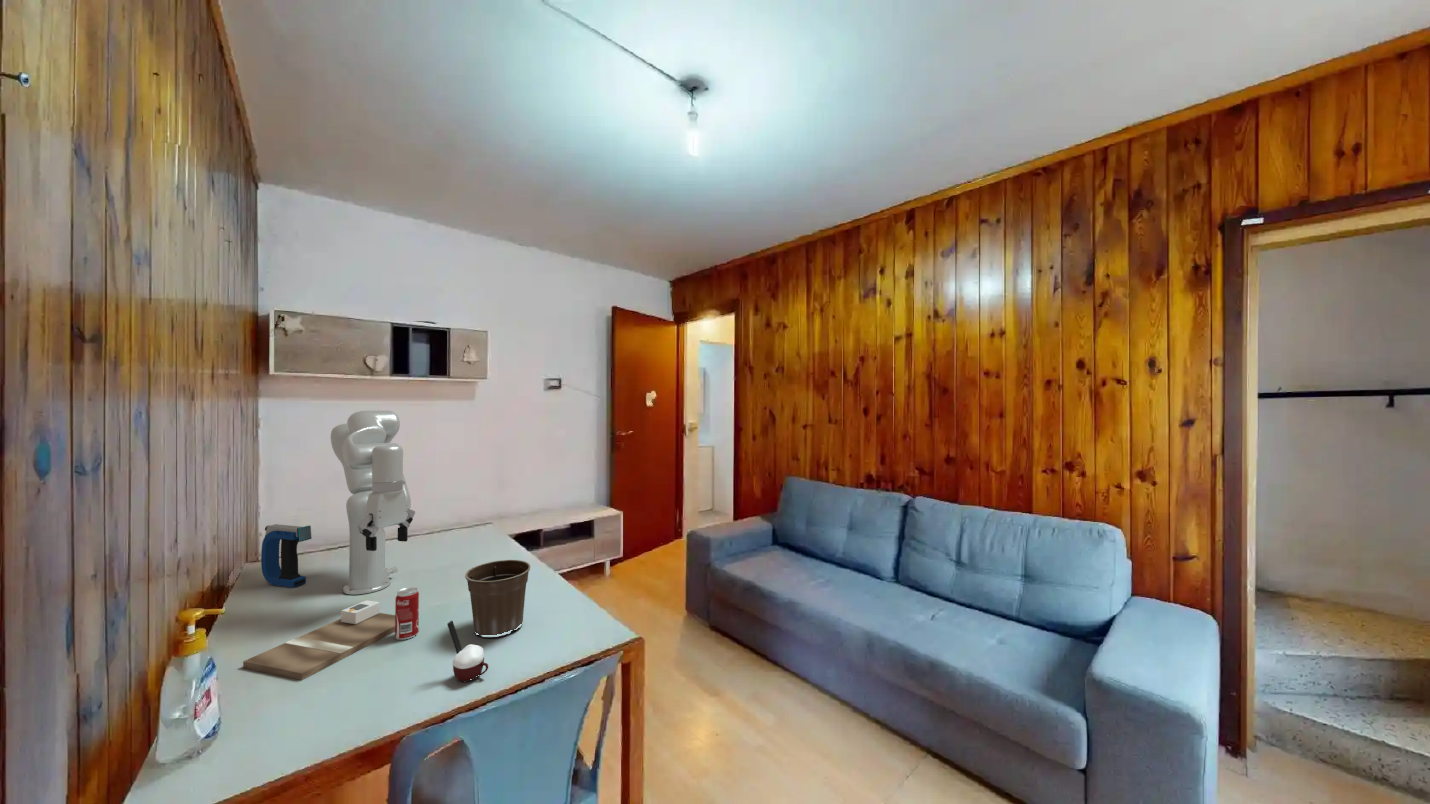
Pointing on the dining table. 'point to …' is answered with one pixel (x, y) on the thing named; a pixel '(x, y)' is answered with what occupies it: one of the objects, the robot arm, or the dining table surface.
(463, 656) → the cocoa
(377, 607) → the block
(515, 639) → the dining table surface
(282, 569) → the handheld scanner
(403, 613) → the soda can
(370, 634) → the board
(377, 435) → the robot arm
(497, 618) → the plant pot
